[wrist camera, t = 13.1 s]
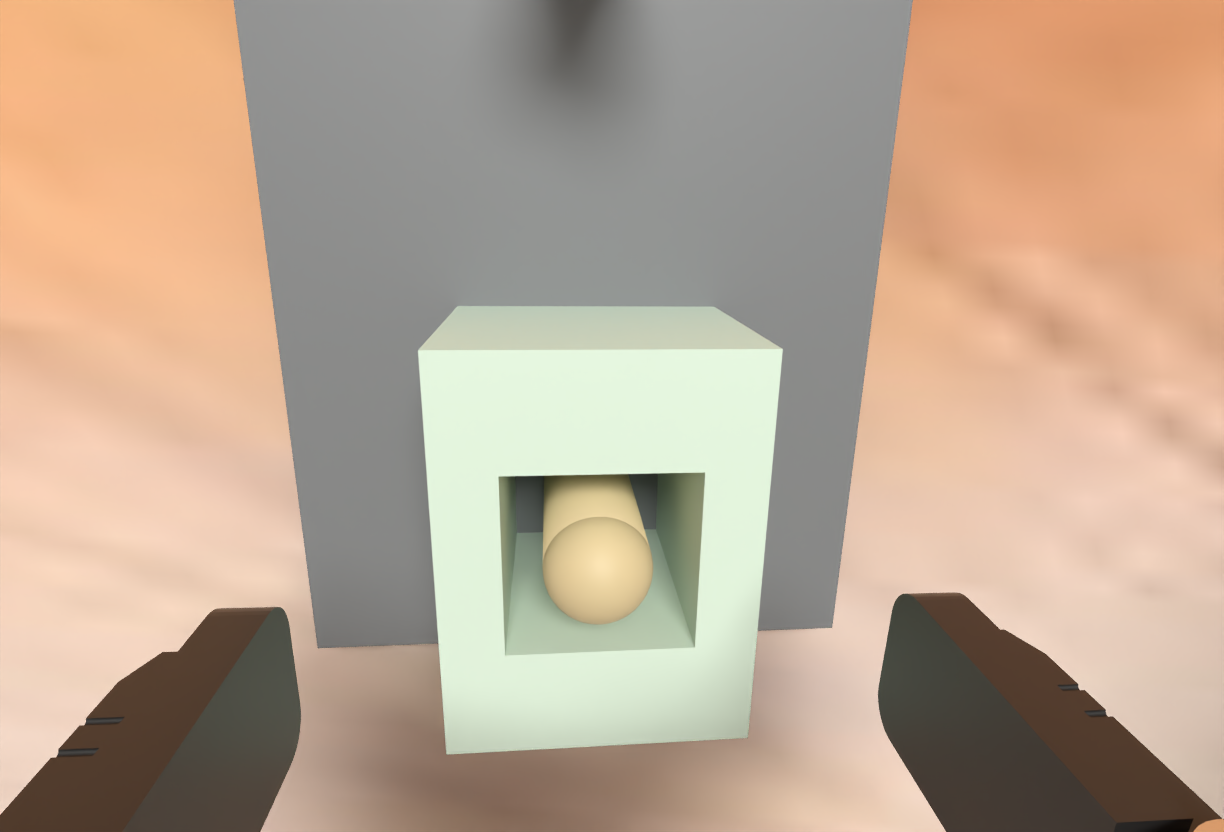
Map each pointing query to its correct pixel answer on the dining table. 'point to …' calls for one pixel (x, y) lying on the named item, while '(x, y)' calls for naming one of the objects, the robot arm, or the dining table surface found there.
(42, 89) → the dining table surface
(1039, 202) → the dining table surface
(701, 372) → the collar
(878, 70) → the board
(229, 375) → the dining table surface
